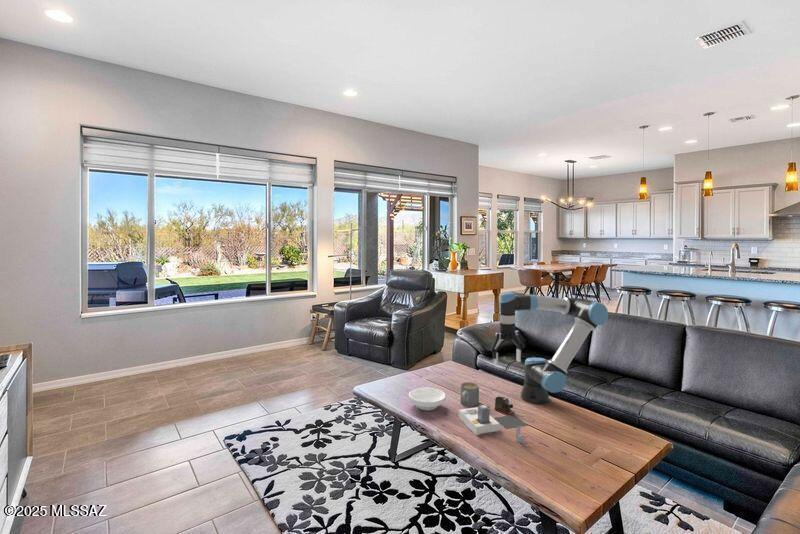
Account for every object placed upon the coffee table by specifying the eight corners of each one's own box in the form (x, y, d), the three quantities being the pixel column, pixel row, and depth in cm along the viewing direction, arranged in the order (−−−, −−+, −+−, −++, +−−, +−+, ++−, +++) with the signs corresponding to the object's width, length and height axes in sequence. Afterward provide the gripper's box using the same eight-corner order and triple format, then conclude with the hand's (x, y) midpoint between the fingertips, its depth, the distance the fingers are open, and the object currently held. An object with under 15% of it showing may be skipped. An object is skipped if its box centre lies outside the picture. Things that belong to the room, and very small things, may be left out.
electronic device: (510, 416, 202) (510, 402, 201) (493, 410, 209) (494, 396, 208) (514, 413, 205) (515, 399, 204) (498, 408, 212) (498, 394, 211)
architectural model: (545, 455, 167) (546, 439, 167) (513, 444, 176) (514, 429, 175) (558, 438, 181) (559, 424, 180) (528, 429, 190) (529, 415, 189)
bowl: (447, 415, 202) (447, 402, 201) (408, 415, 202) (408, 401, 201) (443, 400, 221) (443, 387, 221) (408, 399, 221) (408, 387, 221)
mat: (513, 415, 202) (513, 414, 202) (528, 426, 191) (528, 425, 191) (493, 418, 199) (493, 417, 199) (506, 430, 187) (506, 428, 187)
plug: (484, 425, 190) (485, 404, 190) (489, 429, 187) (489, 407, 186) (477, 426, 189) (478, 405, 189) (481, 430, 186) (482, 408, 185)
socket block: (479, 414, 204) (479, 406, 203) (499, 431, 186) (499, 422, 185) (458, 417, 200) (458, 409, 200) (476, 435, 182) (476, 426, 182)
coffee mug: (468, 397, 225) (468, 380, 224) (482, 403, 217) (482, 385, 216) (452, 404, 216) (452, 386, 215) (467, 410, 208) (467, 391, 208)
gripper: (523, 319, 210) (523, 358, 212) (482, 323, 203) (482, 363, 204) (532, 322, 203) (532, 362, 205) (490, 326, 195) (490, 368, 197)
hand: (507, 363), depth 205 cm, fingers open, 13 cm apart
